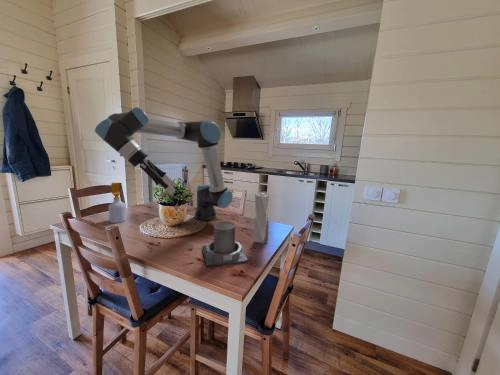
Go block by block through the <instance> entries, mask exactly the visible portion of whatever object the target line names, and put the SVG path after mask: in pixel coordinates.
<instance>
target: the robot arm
mask: <svg viewBox="0 0 500 375" xmlns="http://www.w3.org/2000/svg"><path fill="white" fill-rule="evenodd" d="M94 132H95V134H96V135H98V136H99V137H100V138H101V139H102V141H104V142H105V143H106V144H107V145H109V146H110V147H111V149H114V150H115V151H116V152H117V153H118V154H119V157H121V158H122V157H123V159H125V160H128V163H129V164H131V165H132V166H133V167H138V166H139V168H140V169H142V170H143V172H145V174H146V175H148V177H149V178H150V179H151V180H152V181H153V182H154V183H155V186H160V187H161V188H162V189H163V190H165V191H166V192H167V193H168V194H169V195H170V196H172V195H173V194H174V193H175V192H176V191H177V189H176V188H175V186H176V185H177V184H176V183H175V181H173V180H172V178H170V177H169V176H168V175H167V172H166V171H163V170H161V169H160V168H159V167H158V166H157V165H155V164H154V163H153V162H152V161H150V159H146V158H148V156H149V154H148V152H146V151H145V149H143V148H141V146H140V145H139V144H138V143H137V142H136V141H135V140H134V139H133V138H132V137H131V136H133V135H134V134H135V133H137V134H148V135H158V136H164V137H174V138H176V139H177V140H178V139H179V140H183V141H184V140H185V141H189V142H193V143H197V146H198V148H199V149H200V150H201V152H202V155H203V159H204V160H203V161H204V164H205V169H206V172H207V177H208V181H209V184H208V183H207V184H201V185H198V186H197V187H196V209H195V211H194V219H195V220H197V221H202V220H203V221H205V222H207V221H212V220H215V219H217V212H216V211H217V210H216V207H217V208H222V209H226V208H228V207H229V206H230V205H231V203H232V201H233V198H234V197H233V195H234V194H233V192H232V191H230V190H229V189H228V186H227V184H226V183H225V182H224V176H223V172H222V168H221V162H220V158H219V153H218V152H219V151H218V149H217V147H218V145H219V141H220V139H221V136H222V134H221V133H222V132H221V129H220V127H219V125H218V124H217V123H216V122H214V121H213V120H212V121H209V120H202V121H201V120H200V121H199V120H198V121H189V122H188V121H177V122H173V121H172V122H171V121H165V120H161V119H160V120H159V119H153V118H149V116H148V115H147V113H146V112H145V111H144V110H143V109H142V108H140V107H138V106H137V107H134V108H131V109H130V110H129V111H127V112H120V113H117V112H116V113H112V114H110V115H109V116H107V118H106V119H103V120H101V121H100V122H99V123H98V124H97V125H96V126H95V128H94Z"/></svg>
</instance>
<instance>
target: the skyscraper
mask: <svg viewBox="0 0 500 375" xmlns="http://www.w3.org/2000/svg"><path fill="white" fill-rule="evenodd" d="M254 195H255V196H254V197H255V199H254V201H255V202H254V203H255V204H254V205H255V218H254V229H253V243H256V244H262V245H263V244H264V245H268V241H269V225H270V224H269V219H267V213H266V212H267V209H268V206H269V200H270V195H269V193H268V192H267V191H261V192H256V193H255V194H254Z"/></svg>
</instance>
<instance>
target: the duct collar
mask: <svg viewBox="0 0 500 375" xmlns="http://www.w3.org/2000/svg"><path fill="white" fill-rule="evenodd" d="M201 249H202V253H203V257H204V262H205V266H206V269H207V268H215V267H222V266H223V267H224V266H232V265H237V264H245V263H249V259H248V258H247V257H248V256H247V255H246V254H245V252H244V251H243V246H242V245H241V243H240V242H238V241H236V240H235V252H233V253H230V254H218V253H214V240H212V241H210V242H208V243H207V244H206V245H202V246H201Z"/></svg>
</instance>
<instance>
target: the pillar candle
mask: <svg viewBox="0 0 500 375" xmlns="http://www.w3.org/2000/svg"><path fill="white" fill-rule="evenodd" d="M213 241H214V253H218V254H230V253H233V252H235V241H236V224H235V223H234V222H232V221H218V222H216V223H214V225H213Z"/></svg>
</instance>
